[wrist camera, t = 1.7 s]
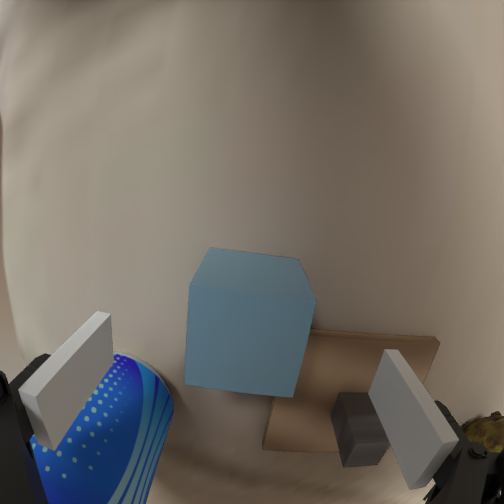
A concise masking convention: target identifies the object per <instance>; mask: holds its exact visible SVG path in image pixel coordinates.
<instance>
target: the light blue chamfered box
mask: <svg viewBox="0 0 504 504" xmlns="http://www.w3.org/2000/svg"><path fill="white" fill-rule="evenodd" d="M316 302H317V300H316V298H315V296H314V293H313V291H312V288H311V286H310V284H309V281H308V279H307V277H306V274H305V272H304V270H303V268H302V265H301V263H300V261H299V259H294V258H286V257H279V256H271V255H264V254H257V253H249V252H242V251H234V250H227V249H220V248H212V247H210V249H209V251H208V253H207V254H206V256H205V258H204V260H203V261H202V263H201V265H200V267H199V269H198V270H197V272H196V274H195V276H194V277H193V279H192V281H191V283H190V287H189V301H188V317H187V335H186V355H185V382H184V384H186V385H191V386H198V387H204V388H210V389H217V390H224V391H232V392H240V393H248V394H258V395H268V396H279V397H293V394H294V391H295V387H296V383H297V380H298V376H299V372H300V368H301V364H302V360H303V357H304V353H305V349H306V345H307V341H308V336H309V332H310V328H311V324H312V320H313V315H314V311H315V306H316Z"/></svg>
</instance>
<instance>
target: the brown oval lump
mask: <svg viewBox="0 0 504 504" xmlns="http://www.w3.org/2000/svg"><path fill="white" fill-rule="evenodd" d="M464 434H465V435H466V437H467V438H468V440H469V441H470V442H473V441H474V442H479V443H481V444H483V445H484V446H485V447H486V448H487V449H488V451H489V452H501V451H502V450H503V448H504V416H501V413H500V412H499V411H496V412H494V413H491V416H489V417H484V418H480V419H479V420H476V421H474V422H473V423H472V424H471V425H470V426H469V427H468V428H467V429H466V430H465V431H464Z"/></svg>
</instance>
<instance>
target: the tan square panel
mask: <svg viewBox="0 0 504 504" xmlns="http://www.w3.org/2000/svg"><path fill="white" fill-rule="evenodd" d="M439 345H440V342H439V341H438V340H437V339H436V338H435V337H425V336H401V335H382V334H366V333H352V332H340V331H328V330H317V329H310V332H309V336H308V341H307V345H306V349H305V353H304V357H303V360H302V364H301V368H300V372H299V376H298V380H297V383H296V387H295V391H294V394H293V397H279V396H273V400H272V405H271V409H270V413H269V417H268V421H267V425H266V429H265V433H264V437H263V441H262V450H273V451H293V452H339V453H340V457H341V461H342V465H343V467H358V466H371V465H378V463H379V461H380V460H381V458H382V457H383V455H384V453H385V452H386V450H387V449H389V447H390V445H391V444H390V442H389V440H388V437H387V435H386V433H385V430H384V428H383V426H382V423H381V421H380V419H379V417H378V414H377V412H376V410H375V408H374V405H373V403H372V401H371V399H370V396H369V394H368V393H369V390H370V388H371V385H372V382H373V380H374V377H375V375H376V372H377V369H378V367H379V364H380V361H381V358H382V355H383V353H384V350H385V349H392V350H399V352H400V353H401V355H402V356H403V357H404V359H405V360H406V362H407V363H408V364H409V366H410V367H411V369H412V370H413V372H414V373H415V374H416V376H417V377H418V379H419V380H420V382H421V383H422V384H423V382H424V380H425V378H426V376H427V373H428V371H429V369H430V367H431V364H432V362H433V360H434V357H435V355H436V352H437V350H438V347H439Z"/></svg>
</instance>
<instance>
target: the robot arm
mask: <svg viewBox="0 0 504 504" xmlns="http://www.w3.org/2000/svg"><path fill="white" fill-rule="evenodd" d="M113 363H114V356H113V343H112V327H111V314H107V313H103V312H98V311H97V312H96V313H95V314H93V315H92V316H91V317H90V318H89V319H88V320H87V321H86V322H85V323H84V324H83V325H82V326H81V327H80V328H79V329H78V330H77V331H76V332H75V333H74V334H73V335H72V336H70V337H69V338H68V339H67V340H66V341H65V342H64V343H63V344H62V345H61V346H60V347H59V348H58V349H57V350H56V351H55V352H54V353H53V354H52V355H49V354H46V353H45V354H43V355H41V356H39V357H37V358H35V359H34V360H33V361H32V362H31V363H30V364H29V366H27V367H26V368H25V369H24V370H23V371H22V372H21V373H20V374H19V375H18V376H17V377H16V378H15V379H14V380H13V381H11V382H10V384H8V381H7V378H6V375H5V374H4V373H3V372H2V371H0V504H49V502H48V500H47V497H46V494H45V491H44V488H43V484H42V481H41V478H40V474H39V471H38V467H37V464H36V460H35V456H34V452H33V448H32V445H31V442H30V439H31V438H32V436H33V435H35V437H36V440H37V442H38V444H40V445H42V446H44V447H46V448H49V449H51V450H53V451H55V450H56V448H57V446H58V445H59V443H60V442H61V440H62V439H63V437H64V436H65V434H66V432H67V431H68V429H69V428H70V426H71V425H72V423H73V422H74V420H75V419H76V417H77V416H78V414H79V413H80V411H81V410H82V408H83V407H84V405H85V404H86V402H87V401H88V399H89V398H90V396H91V395H92V393H93V392H94V390H95V389H96V387H97V386H98V384H99V383H100V382H101V380H102V379H103V377H104V376H105V374H106V373H107V371H108V370H109V368H110V367H111V366H112V364H113ZM368 394H369V396H370V399H371V401H372V403H373V405H374V408H375V410H376V412H377V414H378V417H379V419H380V421H381V423H382V426H383V428H384V430H385V433H386V435H387V437H388V440H389V442H390V444H391V447H392V449H393V451H394V454H395V456H396V458H397V461H398V463H399V465H400V468H401V470H402V473H403V475H404V478H405V480H406V482H407V485H408V487H409V490H412V489H417V488H422V487H426V485H427V484H428V483H429V482H430V480H431V479H432V478H433V479H434V481H435V483H436V484H435V485H434V486H433V488H432V489H431V490H430V491H429V492H428V494H427V495H426V496H425V497H424V499H423V500H426V499H427V497H428V499H427V501H426V503H425V504H504V448H503V450H502V451H501V452H489V451H488V449H487V448H486V447H485V446H484V445H483V444H481V443H479V442H474V441H473V442H470V441H469V440H468V438H467V437H466V435H465V434H464V432H463V431H462V429H461V428H460V426H459V425H458V423H457V422H455V421H456V420H455V419H454V417H453V416H451V415H452V414H451V413H450V412H449V410H448V409H447V407H446V406H444V405H443V404H442V403H441V402H439V401H433V399H432V398H431V396H430V395H429V393H428V392H427V390H426V389H425V387H424V386H423V384H422V383H421V382H420V380H419V379H418V377H417V376H416V374H415V373H414V372H413V370H412V369H411V367H410V366H409V364H408V363H407V362H406V360H405V359H404V357H403V356H402V355H401V353H400V352H399V350H392V349H385V350H384V353H383V355H382V358H381V361H380V364H379V367H378V369H377V372H376V375H375V377H374V380H373V382H372V385H371V388H370V390H369V393H368ZM500 491H501V495H500Z"/></svg>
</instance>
